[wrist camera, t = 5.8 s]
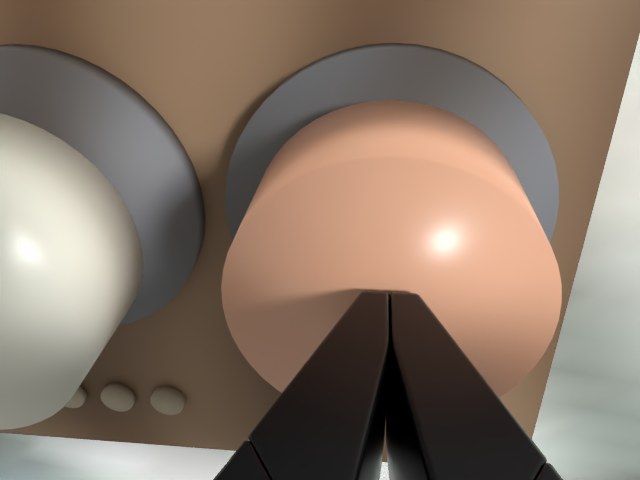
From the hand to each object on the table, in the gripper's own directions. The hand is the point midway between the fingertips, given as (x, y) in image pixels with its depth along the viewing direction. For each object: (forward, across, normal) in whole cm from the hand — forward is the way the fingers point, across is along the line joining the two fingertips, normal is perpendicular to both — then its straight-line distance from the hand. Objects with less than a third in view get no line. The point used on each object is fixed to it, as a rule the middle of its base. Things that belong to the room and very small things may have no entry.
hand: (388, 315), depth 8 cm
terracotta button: (+2, 0, 0) cm, 2 cm away
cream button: (+2, +7, 0) cm, 7 cm away
